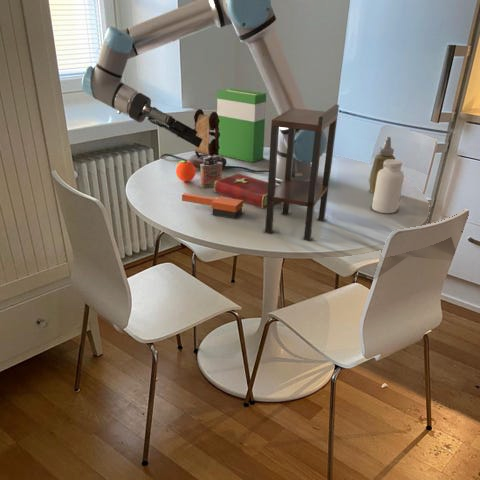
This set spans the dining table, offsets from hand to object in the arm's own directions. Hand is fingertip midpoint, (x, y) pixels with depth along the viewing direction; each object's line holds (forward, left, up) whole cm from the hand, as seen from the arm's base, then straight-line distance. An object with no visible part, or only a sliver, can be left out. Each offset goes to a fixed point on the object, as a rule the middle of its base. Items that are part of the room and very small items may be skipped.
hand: (198, 140), depth 151 cm
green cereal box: (-32, +47, -20) cm, 61 cm away
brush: (+7, -1, -19) cm, 21 cm away
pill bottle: (+41, +42, -20) cm, 62 cm away
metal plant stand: (+32, +10, -19) cm, 39 cm away
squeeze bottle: (+30, +55, -20) cm, 66 cm away
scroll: (-29, +27, -20) cm, 45 cm away
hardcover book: (+5, +17, -20) cm, 27 cm away
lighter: (-11, +14, -20) cm, 27 cm away
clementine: (-21, +10, -20) cm, 31 cm away
